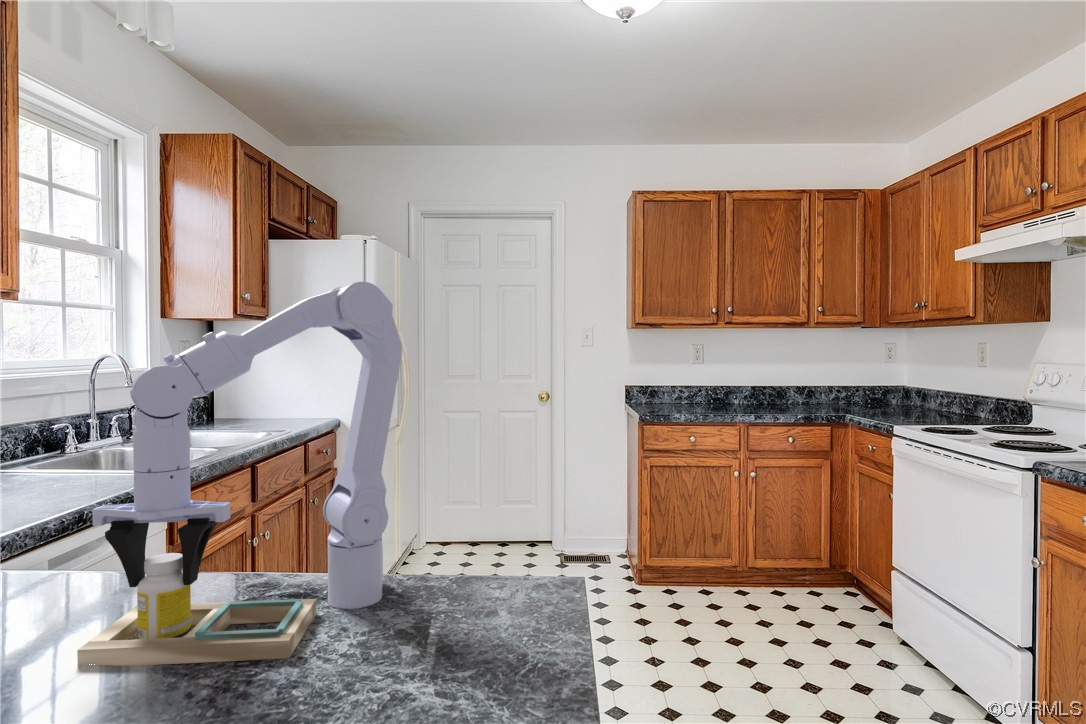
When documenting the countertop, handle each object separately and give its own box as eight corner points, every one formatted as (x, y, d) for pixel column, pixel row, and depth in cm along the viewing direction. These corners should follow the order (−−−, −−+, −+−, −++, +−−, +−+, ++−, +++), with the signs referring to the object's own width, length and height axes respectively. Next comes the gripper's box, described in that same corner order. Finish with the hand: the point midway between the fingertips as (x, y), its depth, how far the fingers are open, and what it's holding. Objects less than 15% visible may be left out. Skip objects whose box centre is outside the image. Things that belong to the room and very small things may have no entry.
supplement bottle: (199, 629, 78) (199, 550, 77) (175, 650, 72) (174, 565, 72) (154, 630, 77) (154, 550, 77) (127, 651, 72) (126, 565, 72)
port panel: (137, 621, 80) (137, 601, 80) (316, 614, 82) (316, 594, 82) (77, 668, 68) (77, 645, 68) (289, 658, 70) (289, 636, 70)
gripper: (74, 476, 70) (76, 598, 70) (212, 473, 71) (214, 593, 71) (111, 465, 77) (113, 576, 77) (236, 462, 78) (237, 571, 78)
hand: (163, 583), depth 75 cm, fingers closed on supplement bottle, 5 cm apart
